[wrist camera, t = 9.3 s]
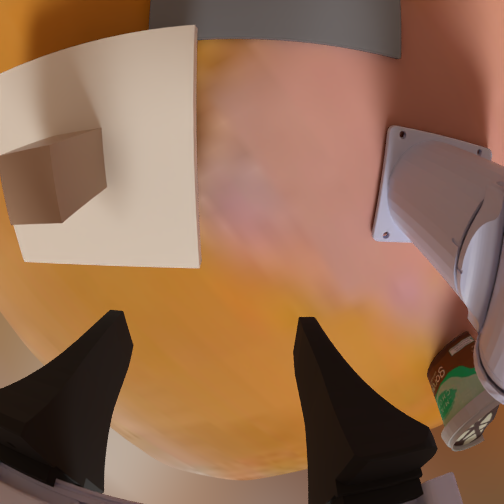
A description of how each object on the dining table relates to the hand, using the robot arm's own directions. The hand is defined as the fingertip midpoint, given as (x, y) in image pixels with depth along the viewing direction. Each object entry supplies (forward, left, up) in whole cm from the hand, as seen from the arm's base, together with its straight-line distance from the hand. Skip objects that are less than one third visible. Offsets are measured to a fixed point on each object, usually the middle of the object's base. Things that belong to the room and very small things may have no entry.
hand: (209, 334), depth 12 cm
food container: (-24, +16, -10) cm, 30 cm away
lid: (+7, -6, -5) cm, 11 cm away
